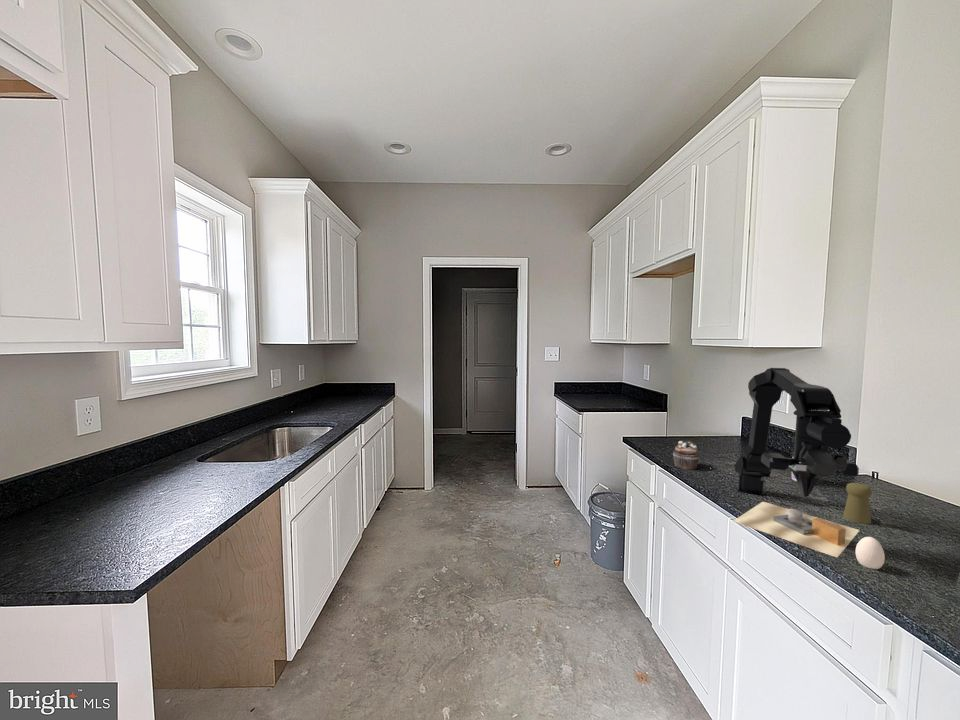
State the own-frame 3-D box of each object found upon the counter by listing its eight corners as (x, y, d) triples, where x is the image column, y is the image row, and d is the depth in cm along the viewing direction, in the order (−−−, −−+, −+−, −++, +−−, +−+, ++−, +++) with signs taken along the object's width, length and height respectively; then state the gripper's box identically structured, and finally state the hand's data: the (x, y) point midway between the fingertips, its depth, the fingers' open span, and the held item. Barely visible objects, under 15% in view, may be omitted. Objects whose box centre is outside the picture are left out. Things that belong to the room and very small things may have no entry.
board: (732, 524, 109) (733, 507, 109) (762, 504, 122) (763, 488, 122) (837, 561, 91) (838, 540, 91) (859, 533, 104) (860, 515, 104)
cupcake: (668, 462, 163) (669, 438, 162) (692, 462, 163) (693, 438, 162) (679, 469, 153) (679, 444, 153) (704, 470, 153) (705, 445, 152)
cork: (841, 515, 115) (843, 478, 114) (870, 521, 111) (872, 483, 110) (842, 523, 110) (845, 484, 110) (873, 530, 107) (875, 490, 106)
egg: (868, 563, 91) (870, 532, 91) (889, 575, 86) (892, 542, 86) (848, 563, 91) (850, 532, 90) (869, 575, 86) (871, 543, 86)
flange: (773, 520, 109) (774, 506, 109) (795, 517, 111) (796, 503, 111) (829, 547, 96) (830, 531, 96) (852, 542, 98) (854, 527, 98)
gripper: (782, 442, 94) (777, 505, 95) (877, 449, 89) (871, 515, 91) (761, 430, 105) (758, 487, 106) (846, 435, 100) (841, 495, 101)
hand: (805, 496), depth 101 cm, fingers closed
